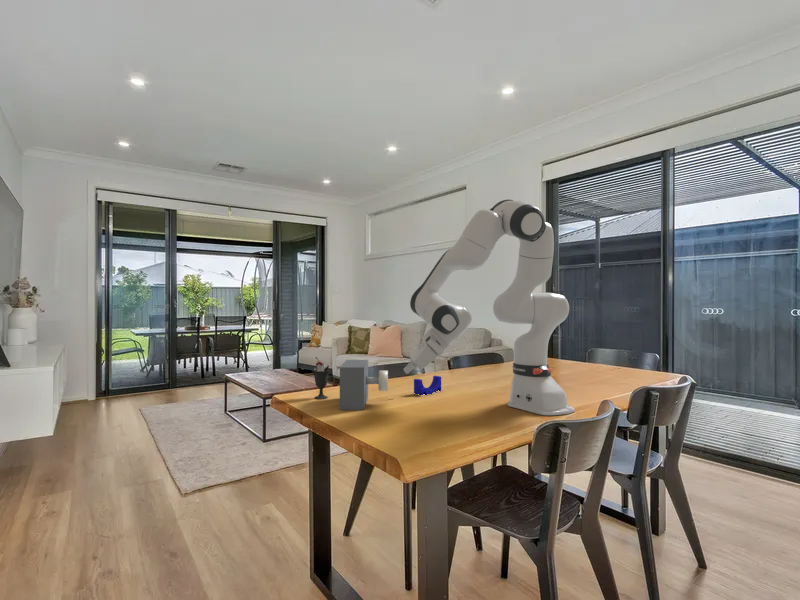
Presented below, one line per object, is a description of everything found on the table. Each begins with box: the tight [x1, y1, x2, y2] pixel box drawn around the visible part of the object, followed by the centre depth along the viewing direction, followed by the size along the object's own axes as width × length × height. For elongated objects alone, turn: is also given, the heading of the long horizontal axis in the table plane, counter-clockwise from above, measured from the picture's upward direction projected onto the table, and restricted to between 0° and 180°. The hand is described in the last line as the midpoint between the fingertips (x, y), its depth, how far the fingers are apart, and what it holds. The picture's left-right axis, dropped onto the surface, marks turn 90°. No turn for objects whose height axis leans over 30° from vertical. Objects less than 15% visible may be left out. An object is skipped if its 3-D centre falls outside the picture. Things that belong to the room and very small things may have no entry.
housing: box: [339, 359, 369, 411], centre depth 150 cm, size 8×18×14 cm, turn 0°
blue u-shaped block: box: [413, 375, 442, 396], centre depth 167 cm, size 12×4×6 cm, turn 131°
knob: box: [366, 370, 389, 392], centre depth 150 cm, size 9×7×7 cm
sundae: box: [311, 356, 331, 400], centre depth 159 cm, size 7×7×15 cm
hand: (405, 371), depth 148 cm, fingers closed
